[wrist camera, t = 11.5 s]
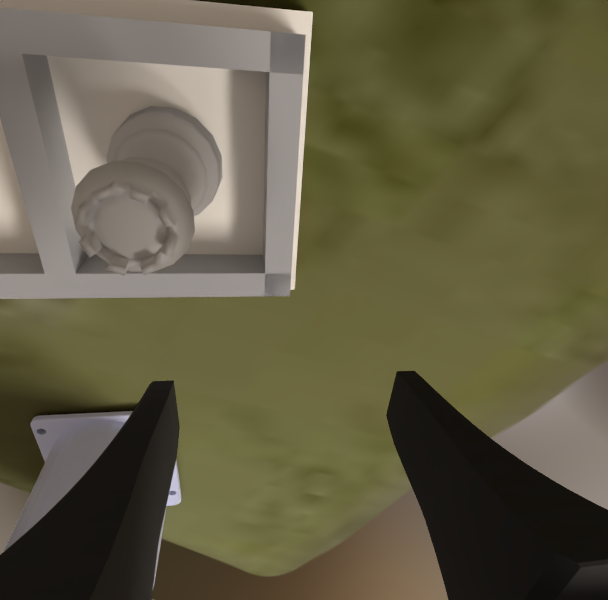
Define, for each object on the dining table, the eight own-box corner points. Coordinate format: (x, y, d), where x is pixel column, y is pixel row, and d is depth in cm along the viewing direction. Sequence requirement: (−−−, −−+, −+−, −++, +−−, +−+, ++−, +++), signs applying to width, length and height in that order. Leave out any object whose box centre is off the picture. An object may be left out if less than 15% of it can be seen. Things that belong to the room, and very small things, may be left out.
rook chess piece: (243, 150, 18) (247, 213, 11) (190, 230, 19) (164, 330, 12) (145, 78, 16) (75, 100, 9) (95, 174, 17) (3, 254, 11)
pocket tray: (292, 280, 22) (299, 309, 20) (-144, 282, 19) (-201, 317, 17) (308, 13, 16) (322, 7, 14) (-328, -48, 13) (-465, -72, 11)
